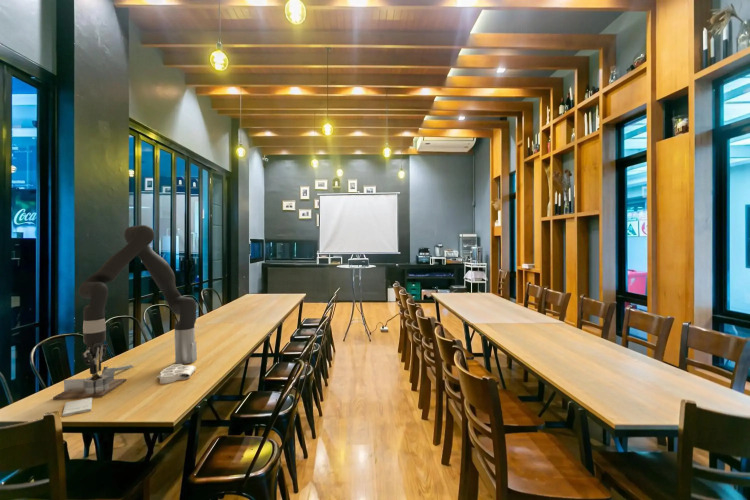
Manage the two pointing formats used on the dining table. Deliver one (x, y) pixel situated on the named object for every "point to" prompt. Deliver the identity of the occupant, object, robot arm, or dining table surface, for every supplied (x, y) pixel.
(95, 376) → the hinge pin
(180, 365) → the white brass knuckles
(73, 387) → the hinge
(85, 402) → the external hard drive
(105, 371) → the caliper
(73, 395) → the hinge board
